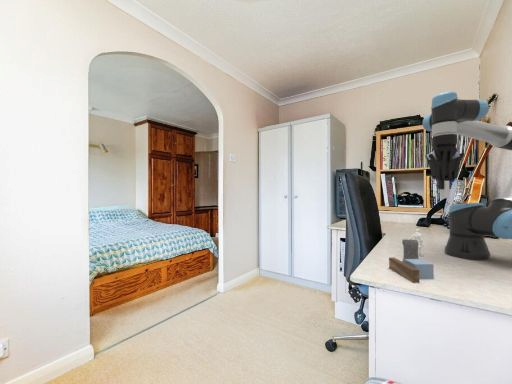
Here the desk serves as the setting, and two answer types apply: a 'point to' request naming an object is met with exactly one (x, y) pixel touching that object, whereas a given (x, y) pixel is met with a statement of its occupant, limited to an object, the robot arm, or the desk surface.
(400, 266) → the board
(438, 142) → the robot arm
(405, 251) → the stone
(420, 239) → the action figure
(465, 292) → the desk surface
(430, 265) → the block
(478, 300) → the desk surface
